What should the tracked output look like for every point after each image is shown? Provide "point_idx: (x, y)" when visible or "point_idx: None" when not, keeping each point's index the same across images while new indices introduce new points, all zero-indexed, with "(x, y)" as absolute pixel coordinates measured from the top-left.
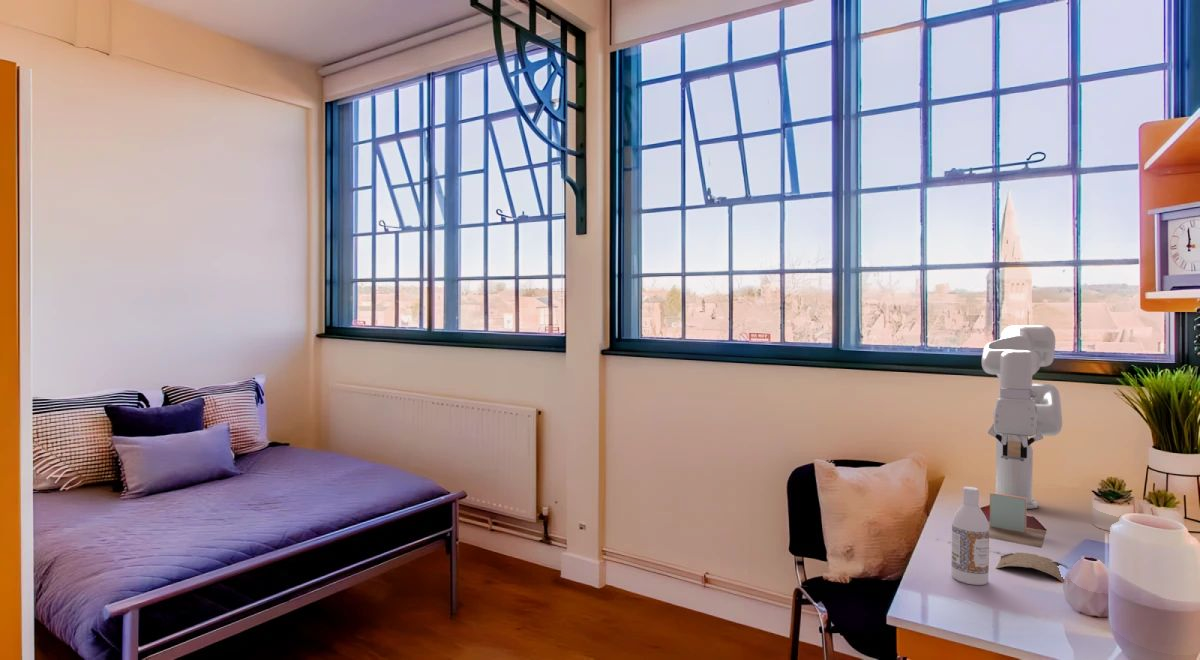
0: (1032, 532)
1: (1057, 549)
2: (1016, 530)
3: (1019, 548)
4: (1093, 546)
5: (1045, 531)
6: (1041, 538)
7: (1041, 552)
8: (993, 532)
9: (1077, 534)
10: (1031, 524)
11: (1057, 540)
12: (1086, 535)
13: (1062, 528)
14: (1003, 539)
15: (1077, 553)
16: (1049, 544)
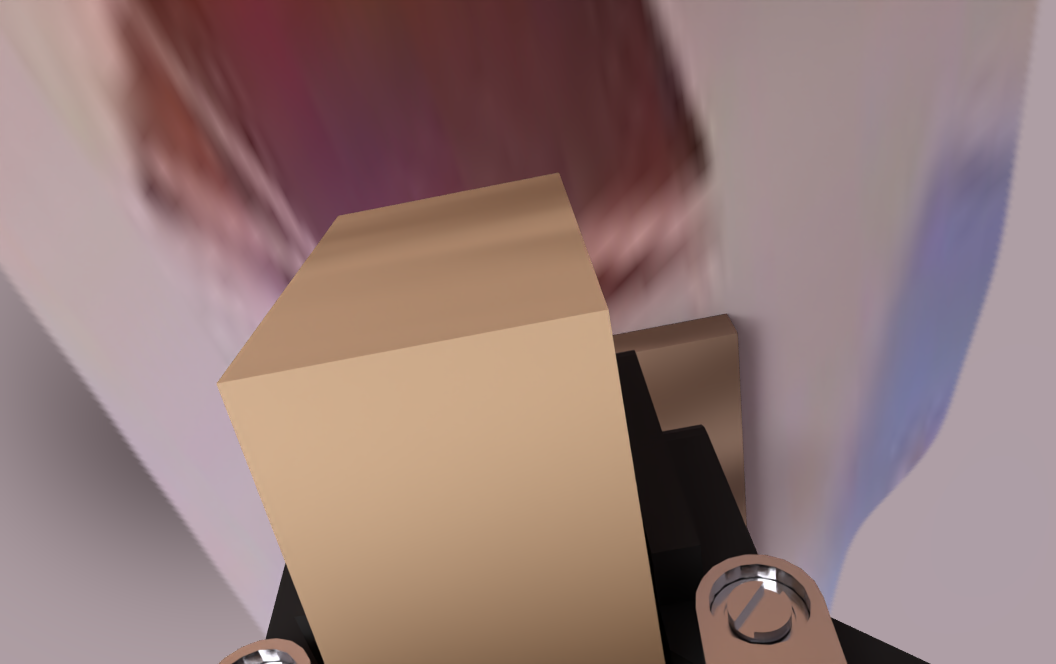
0: (678, 423)
1: (797, 475)
2: None
3: None
4: (966, 289)
5: (737, 348)
6: (734, 484)
7: None
8: None
9: (897, 92)
10: (602, 91)
11: (789, 333)
12: (953, 65)
13: (803, 7)
14: None
15: (881, 462)
16: (758, 431)
